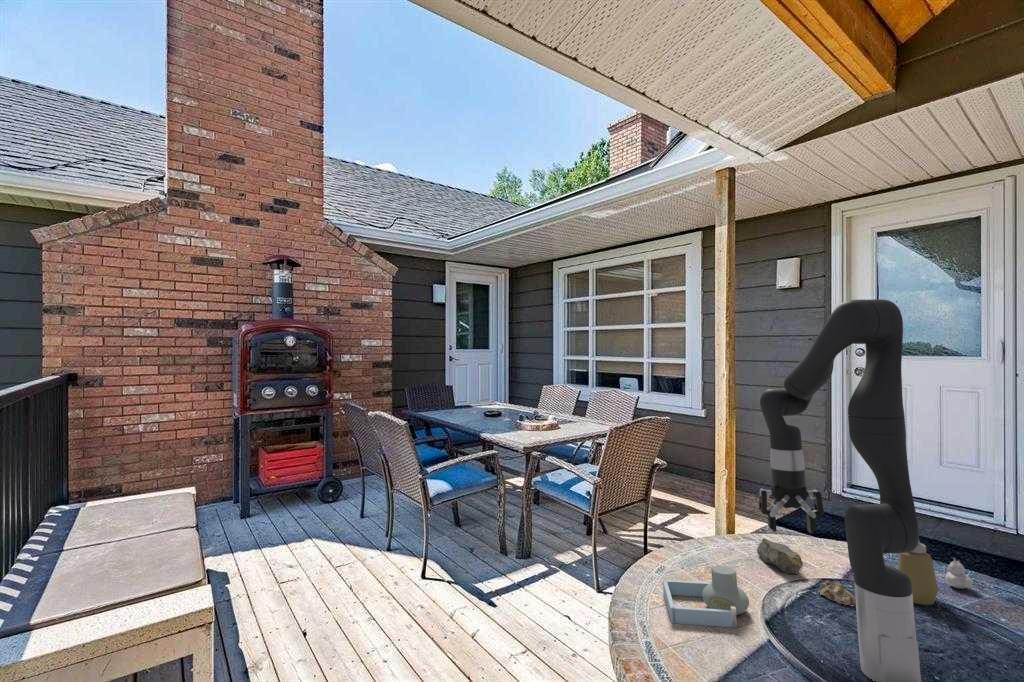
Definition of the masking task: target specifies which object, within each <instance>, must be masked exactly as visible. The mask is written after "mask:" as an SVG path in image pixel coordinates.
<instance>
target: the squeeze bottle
mask: <svg viewBox="0 0 1024 682" xmlns="http://www.w3.org/2000/svg"><path fill="white" fill-rule="evenodd" d="M920 541H921V540H919V541H918V545H917V547H916V548H915V549H914V550H913V551H911V552H907V553H898V566H897V568H898V569H897V570H899V571H901V572H903V573H905V574H906V575H907V576H908V577H909V578H910V580H911V583H912V594H913V604H918V605H924V606H932V605H934V603H935V600H936V598H937V595H938V593H939V587H938V582H937V577H936V572H935V568H934V564H933V563H934V562H933V558H932V556H931V555H930V554H929V553H927V546H926V545H925V544H924V543H921V542H920Z"/></svg>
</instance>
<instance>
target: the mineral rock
mask: <svg viewBox="0 0 1024 682" xmlns="http://www.w3.org/2000/svg"><path fill="white" fill-rule="evenodd" d="M818 593H820V595H823V596H826V597H828V598H830V599H832V600H835V601H837V602H839V603H844V604H847V605H854V606H855V604H856V600H855V595H853V593H852V592H851V591H848V590H847V589H846V588H845V587H844V586H843V585H842V584H841V583H840V582H836V581H835V582H831V581H830V580H825V581H824V582H821V584H820V586H819V587H818ZM820 595H819V596H820ZM823 596H822V597H823ZM855 607H856V606H855Z"/></svg>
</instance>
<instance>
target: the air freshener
mask: <svg viewBox="0 0 1024 682" xmlns="http://www.w3.org/2000/svg"><path fill="white" fill-rule="evenodd" d="M737 577H738V576H737V571H736V570H735V569H734V568H732V567H729V566H725V565H716V566H713V567H712V568H711V582H712V583H710V584H708V585H707V586H706V587H705V588H704V589H703V592H702V597H701V598H702V600H703V601H704V603H705V604H706V606H707V607H708V608H709V609H721V610H731V608H730V606H734V607H735V608H736V616H738V615H741V614H743V613H745V612H746V611H747V610H748V608H749V605H750V599H749V597H748V595H747V593H745V591H744V590H743V589H742V588H741V587H740V586H738V579H737Z"/></svg>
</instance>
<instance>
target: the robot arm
mask: <svg viewBox="0 0 1024 682" xmlns="http://www.w3.org/2000/svg"><path fill="white" fill-rule="evenodd" d="M903 338H904V319H903V316H902V313H901V310H900V308H899V307H898V305H896V304H895V303H894V302H893V301H891V300H889V299H879V298H878V299H877V298H876V299H849V300H845V301H843V302H841V303H840V304H838V305H837V306H836V308H835V309H834V310H833V311H832V313H831V314H830V315H829V317H828V318H827V320H826V321H825V323H824V325H823V327H822V329H821V330H820V332H819V333H818V334H817V337H816V338H815V340H814V342H813V343H812V345H811V347H810V348H809V349H808V351H807V353H806V354H805V355H804V357H803V358H802V359H801V360H800V361H799V362H798V363H797V365H795V367H794V368H793V369H792V370H791V371H789V373H788V374H787V376H786V377H785V378H784V381H783V386H784V387H783V388H769V389H766V390H764V391H763V392H762V393H761V395H760V400H759V405H760V409H761V412H762V416H763V418H764V420H765V423H766V426H767V430H768V431H769V443H770V456H769V457H770V461H769V465H770V473H771V474H770V475H771V485H772V486H771V489H764V488H763V487H762V488H758V511H759V512H760V513H761V514H763V515H766V516H767V526H768V528H769V529H770V531H771V532H773V533H777V531H778V530H777V519H776V514H777V513H779V512H780V511H781V510H782V508H784V509H790V508H793V509H799V508H800V509H802V510H803V511H804V512H805V513H806V516H805V517H806V528H807V530H806V531H807V532H808V533H809V534H814V533H815V532H816V531H817V525H816V524H817V523H816V520H817V519H816V518H817V517H824V514H825V512H824V504H823V498H822V497H823V496H822V493H821V492H820V491H819V490H817V489H812V490H807V481H806V467H805V458H804V453H803V445H802V443H803V442H802V434H801V429H800V428H799V427H798V426H795V425H792V424H791V425H790V424H787V423H786V420H785V419H784V417H787V416H790V417H791V416H792V417H793V416H799V415H800V414H802V413H804V412H805V411H806V410H807V408H809V405H810V403H811V401H812V398H813V396H814V394H816V393H817V392H818V391H819V390H820V389H821V388H822V387H823V386H824V385H825V384H827V382H828V381H829V380H830V378H831V376H832V374H833V372H834V363H835V359H836V357H837V356H838V355H839V354H840V353H841V352H842V351H843V350H845V349H846V348H848V347H850V346H851V345H865V368H864V371H863V374H862V376H861V378H860V380H859V382H858V384H857V386H856V388H855V389H854V391H853V393H852V395H851V397H850V400H849V402H848V406H847V407H848V408H847V417H848V418H847V419H848V430H849V431H848V433H849V438H850V441H851V443H852V445H853V446H854V448H855V450H856V451H857V453H858V454H859V455H860V457H861V458H862V459H863V461H864V462H865V463H866V464H867V466H868V467H869V468H870V470H871V471H872V474H873V476H874V477H875V479H876V482H877V485H878V492H879V503H876V504H875V503H873V504H854V505H853V504H852V505H851V506H849V507H848V508H847V510H846V512H845V516H844V528H845V529H844V530H845V537H846V545H847V552H848V553H847V554H848V560H849V565H850V567H851V570H852V575H853V585H854V598H855V600H856V606H855V609H856V610H855V612H856V613H855V614H856V624H857V626H856V627H857V637H858V638H857V639H858V648H859V649H858V651H859V652H858V653H859V662H860V669H861V672H862V673H863V674H864V676H865V677H867V678H868V679H869V680H871V679H872V680H871V681H873V682H874V681H876V682H922V678H921V677H922V676H921V667H920V666H921V664H920V655H919V653H920V652H919V642H918V640H917V634H916V633H917V632H916V622H915V612H914V603H913V594H912V583H911V580H910V578H909V577H908V576H907V575H906V574H905V573H903V572H901V571H899V570H898V569H897V568H895V567H892V566H889V565H886V563H885V559H884V554H899V553H907V552H911V551H913V550H914V549H915V548H916V547H917V545H918V541H920V528H919V522H918V516H917V511H916V506H915V502H914V501H915V500H914V498H913V497H914V495H913V491H912V485H911V481H910V480H911V479H910V471H909V463H908V452H907V450H908V449H907V433H906V431H907V430H906V419H905V417H906V416H905V409H904V408H905V407H904V400H903V379H902V358H903V340H904V339H903ZM770 496H772V497H773V498H774V499H773V501H772V502H771V504H770V506H769V507H768V499H769V498H770ZM808 497H809V498H810V499H811V500H812V503H813V508H814V509H813V510H812V507H810V505H808V503H807V502H806V500H807V499H808Z"/></svg>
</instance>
